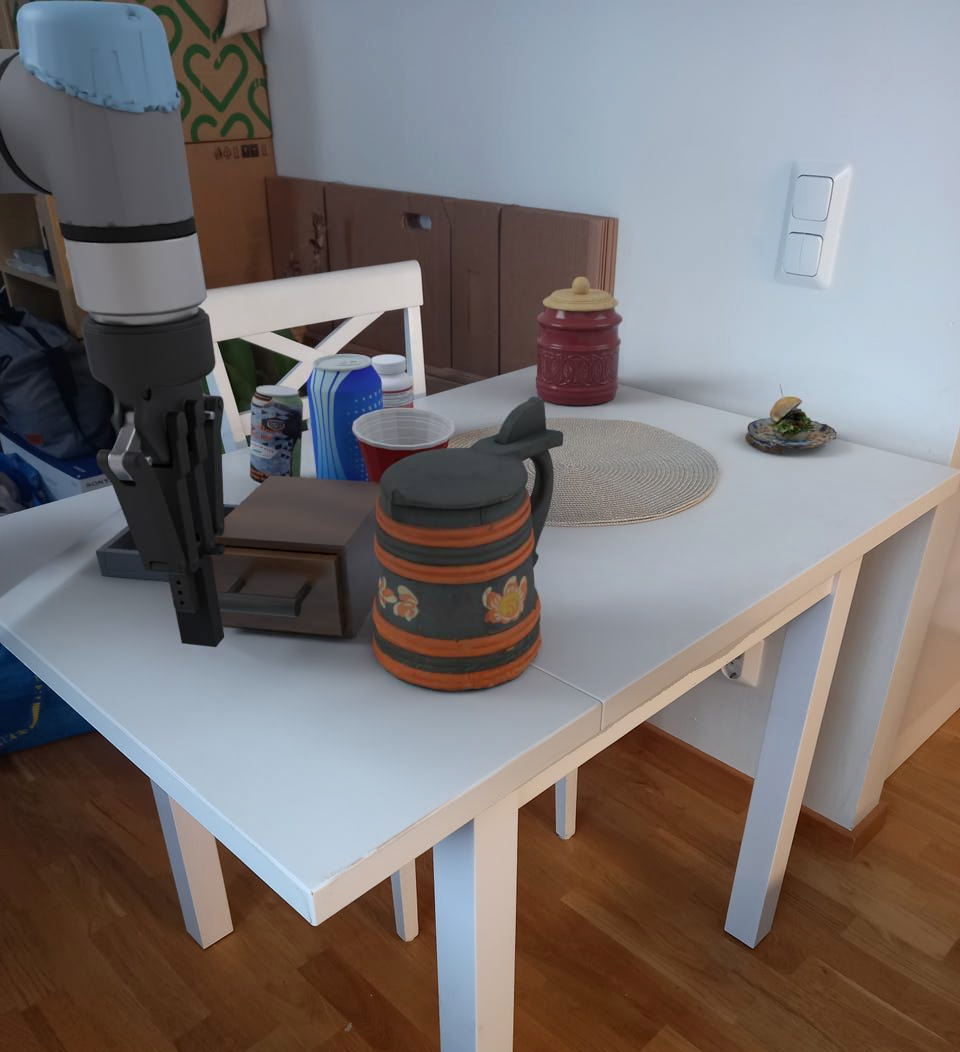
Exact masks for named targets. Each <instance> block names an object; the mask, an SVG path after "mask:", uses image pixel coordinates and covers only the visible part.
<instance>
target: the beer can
mask: <svg viewBox="0 0 960 1052" xmlns="http://www.w3.org/2000/svg"><path fill="white" fill-rule="evenodd" d="M312 366H313V368H312V370H311V372H310V374H309V376H308V378H307V382H306V391H307V399H308V400H307V401H308V402H307V403H308V409H309V410H308V411H309V421H310V427H311V438H312V447H313V455H314V466H315V474H316V478H318V479H334V480H350V481H366V482H370V481H369V477H368V472H367V468H366V464H365V460H364V457H363V455H362V451H361V447H360V446H359V441H358V440H357V437H356V436H355V435H354V433H353V431H352V427H353V422H354V421H355V420H356V419H358V418H359V417H360V416H362V415H364V414H367V413H370V412H373V411H376V410H382V409H383V395H382V381H381V378H380V376H379V375H378V373H377V372H376V370H375V369H374V367H373V366H372V357H369V356H367V355H363V354H356V353H338V354H337V353H336V354H328V355H324V356H321V357H318V358H316V359H313V361H312Z"/></svg>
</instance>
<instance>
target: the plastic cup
mask: <svg viewBox="0 0 960 1052" xmlns="http://www.w3.org/2000/svg"><path fill="white" fill-rule="evenodd" d="M352 431H353V433H354V435H355V436H356V437H357V440H358V441H359V446H360V447H361V451H362V455H363V457H364V460H365V464H366V468H367V472H368V477H369V481H370V482H380V480H381V477H382V475H383V473H384V472H385V471H386V470H387V469H388V468H389V467H390V466H391V465H393V464H395V463H396V462H398V461H400V460H402V459H404V458H406V457H408V456H411V455H414V454H417V453H420V452H424V451H429V450H435V449H445V448H449V442H450V441H451V439H452V437H453V436H454V434H455V423H454V422H453V421H452V420H451V419H450V418H449V417H448V416H446V415H444V414H441V413H439V412H436V411H433V410H427V409H422V408H417V407H414V408H390V409H382V410H376V411H373V412H370V413H367V414H364V415H362V416H360V417H359V418H358V419H356V420H355V421H354V422H353V427H352Z"/></svg>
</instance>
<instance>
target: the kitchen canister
mask: <svg viewBox="0 0 960 1052" xmlns="http://www.w3.org/2000/svg"><path fill="white" fill-rule="evenodd" d="M542 305H543V306H544V310H543V311H542V312H540V313H539V314H538V315H537V316H536V321H537V323H538V324H539V335H538V336H537V338H536V345H537V349H536V351H537V352H536V354H537V355H536V377H535V388H536V395H537V397H539V398H542V399H543V401H544V402H548V403H552V404H557V405H564V406H593V405H600V404H603V403H607V402H609V401H612V400H613V399H615V397H616V396H617V391H618V389H619V382H620V381H619V363H620V362H619V361H620V346H621V343H622V340H621V338H620V337H619V326H620V325H621V324H622V322H623V321H624V320H623V319H624V318H623V316H622V315H621V314H620V313H619V312H617V310H616V307H617V306H618V305H619V301H618V300H617V298H615V297H613V296H612V295H611V294H610V293H609V292H608V291H606V290H602V289H597V288H591V284H590V281H589V279H588V278H587V277H586V276H578V277H576V278H574V280H573V282H572V285H571V288H563V289H557V290H555V291H553V292H552V293H551V294H550V295H549V296H547V297H545V298H544V299H543V300H542Z"/></svg>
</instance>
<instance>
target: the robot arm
mask: <svg viewBox="0 0 960 1052" xmlns="http://www.w3.org/2000/svg"><path fill="white" fill-rule="evenodd" d="M16 28H17V37H18V48H17V49H13V48H0V195H1V194H2V195H3V194H33V195H46V196H52V198H53V202H54V206H55V211H56V215H57V219H58V226H59V229H60V234H61V236H62V237H63V242H64V247H65V252H66V253H65V257H66V262H67V263H68V268H69V272H70V278H71V281H72V287H73V292H74V298H75V301H76V305H77V306H78V307H79V308H80V309H81V310H83V311H84V312H87V313H88V314H86V315H85V316H84V317H83V320H82V321H81V322H80V329H81V334H82V338H83V342H84V347H85V352H86V357H87V361H88V366H89V371H90V373H91V375H92V377H93V378H94V379H95V380H96V381H97V382H99V383H100V384H103V385H105V386H106V387H107V388H108V389H110V391H111V392H112V393H113V400H114V411H113V421H114V422H113V423H114V425H115V428H116V430H117V431H118V436H117V438H116V441H115V443H114V445H113V448H112V449H100V450H99V449H98V451H97V454H96V464H97V467H98V468H99V470H100V471H101V472H102V473H103V475H104V476H105V477H106V479H107V480H108V481H109V482H110V484H111V485H112V488H113V490H114V493H115V496H116V498H117V500H118V503H119V506H120V508H121V511H122V513H123V516H124V518H125V519H124V520H125V521H126V524H127V526H129V529H130V532H131V534H132V537H133V539H134V542H135V544H136V547H137V549H138V552H139V555H140V557H141V560H142V562H143V565H144V567H145V570H146V571H148V572H156V573H166V574H168V578H169V581H168V583H169V588H170V593H171V598H172V603H173V608H174V610H175V617H176V621H177V626H178V627H177V628H178V631H179V636H180V642H181V644H184V645H190V646H191V645H192V646H200V647H210V648H217V647H218V646H219V644H220V643H221V642H222V640H224V638H225V632H224V626H223V625H222V619H221V613H220V607H219V600H218V594H217V588H216V582H215V576H214V570H213V564H212V559H211V555H216V556H222V555H223V554H224V552H225V544H220V543H215V536H222V535H223V533H224V527H225V526H224V504H225V503H224V502H225V501H224V500H225V499H224V476H223V475H224V474H223V454H222V453H223V447H222V426H223V418H224V417H223V416H224V410H225V409H224V407H225V403H224V402H225V401H224V398H223V397H222V396H221V395H210V394H206V393H204V387H203V386H204V385H203V382H202V380H201V379H204V378H206V377H207V376H209V375H210V374H211V373H212V372H213V371H214V369H215V367H216V354H215V347H214V340H213V334H212V333H213V332H212V326H211V319H210V315H209V314H208V313H207V312H206V311H205V309H203V308H202V307H200V306H201V305H202V304H203V303H204V302H205V301H206V299H207V298H208V294H207V288H206V281H205V275H204V267H203V262H202V256H201V249H200V243H199V238H198V237H199V235H198V232H197V227H196V219H195V218H194V217H195V211H194V204H193V197H192V189H191V183H190V174H189V167H188V166H189V165H188V160H187V153H186V144H185V138H184V137H185V135H184V130H183V122H182V116H181V115H182V114H181V110H180V109H181V108H180V107H181V101H182V99H181V97H182V96H181V92H180V90H179V89H178V87H177V86H178V85H177V82H176V76H175V72H174V71H175V70H174V67H173V62H172V57H171V52H170V48H169V43H168V37H167V33H166V29H165V25H164V24H163V22H162V20H161V19H160V17H159V16H158V15H157V14H156V13H155V12H154V11H153V10H151V9H150V8H149V7H147V6H145V5H141V4H137V3H128V2H127V3H126V2H116V1H96V0H95V1H94V0H39V1H31V2H27V3H25V4H23V5H22V6H21V7H20V8H19V9H18V11H17V14H16Z"/></svg>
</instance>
